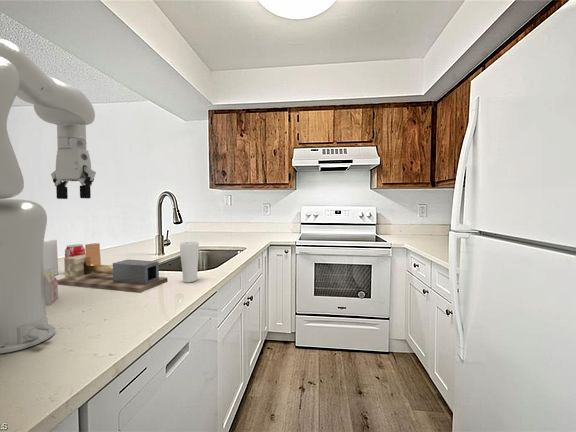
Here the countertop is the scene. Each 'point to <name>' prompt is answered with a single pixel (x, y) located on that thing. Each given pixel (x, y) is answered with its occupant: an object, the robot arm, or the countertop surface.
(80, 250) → the soda can
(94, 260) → the brass tube
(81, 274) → the ash socket block
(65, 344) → the countertop surface
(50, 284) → the white angular box
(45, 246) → the supplement box
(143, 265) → the galvanized steel sleeve
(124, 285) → the walnut base board
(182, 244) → the drinking glass
